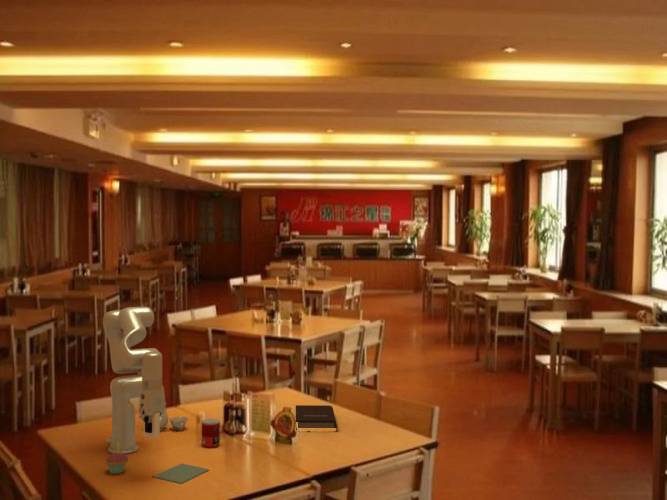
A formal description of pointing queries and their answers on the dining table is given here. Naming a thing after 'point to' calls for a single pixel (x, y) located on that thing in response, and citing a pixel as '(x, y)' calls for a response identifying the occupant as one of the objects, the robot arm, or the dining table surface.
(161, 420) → the chinaware
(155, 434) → the slab
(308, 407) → the book
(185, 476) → the mat
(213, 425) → the canned food
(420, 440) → the dining table surface
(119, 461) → the cupcake
